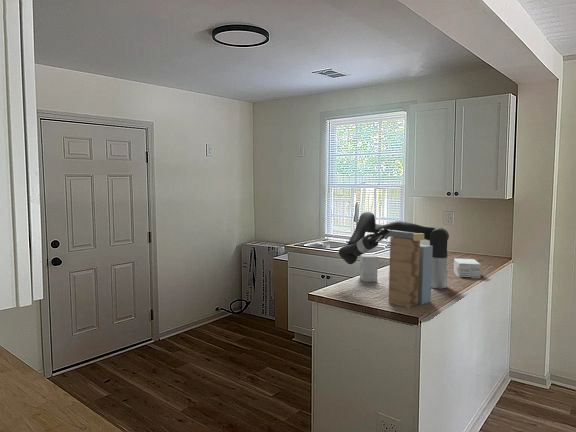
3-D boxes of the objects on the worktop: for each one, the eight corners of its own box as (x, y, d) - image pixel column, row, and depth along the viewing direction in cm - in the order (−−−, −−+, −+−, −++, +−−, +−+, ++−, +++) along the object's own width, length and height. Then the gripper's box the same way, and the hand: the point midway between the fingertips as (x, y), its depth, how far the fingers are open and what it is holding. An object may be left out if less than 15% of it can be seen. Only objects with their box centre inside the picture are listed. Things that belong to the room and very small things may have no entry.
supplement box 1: (374, 278, 265) (374, 254, 264) (377, 281, 256) (378, 256, 255) (359, 278, 264) (359, 254, 263) (362, 281, 255) (362, 256, 254)
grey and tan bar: (385, 234, 221) (385, 228, 221) (424, 239, 202) (424, 233, 202) (377, 235, 218) (377, 229, 218) (416, 240, 199) (416, 234, 199)
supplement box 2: (453, 272, 287) (453, 258, 286) (474, 273, 284) (474, 259, 283) (458, 277, 270) (458, 262, 269) (480, 278, 268) (481, 263, 267)
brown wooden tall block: (397, 299, 217) (399, 236, 214) (417, 305, 207) (420, 239, 205) (388, 302, 213) (390, 237, 210) (408, 307, 203) (410, 240, 201)
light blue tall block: (410, 296, 223) (412, 242, 221) (430, 302, 213) (432, 245, 211) (401, 298, 219) (403, 243, 216) (421, 304, 209) (423, 247, 207)
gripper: (379, 249, 230) (402, 235, 218) (360, 251, 222) (383, 237, 209) (374, 236, 233) (396, 222, 220) (355, 237, 225) (377, 223, 212)
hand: (389, 230), depth 215 cm, fingers open, 3 cm apart
